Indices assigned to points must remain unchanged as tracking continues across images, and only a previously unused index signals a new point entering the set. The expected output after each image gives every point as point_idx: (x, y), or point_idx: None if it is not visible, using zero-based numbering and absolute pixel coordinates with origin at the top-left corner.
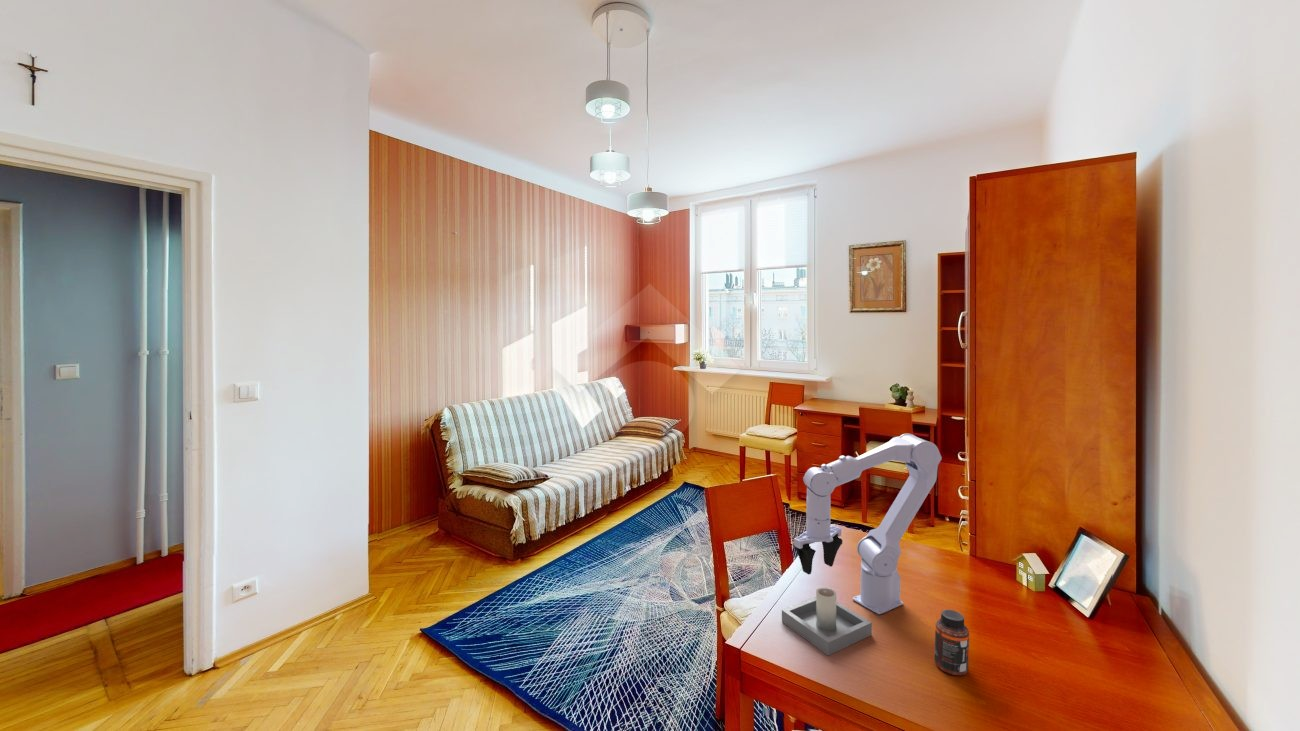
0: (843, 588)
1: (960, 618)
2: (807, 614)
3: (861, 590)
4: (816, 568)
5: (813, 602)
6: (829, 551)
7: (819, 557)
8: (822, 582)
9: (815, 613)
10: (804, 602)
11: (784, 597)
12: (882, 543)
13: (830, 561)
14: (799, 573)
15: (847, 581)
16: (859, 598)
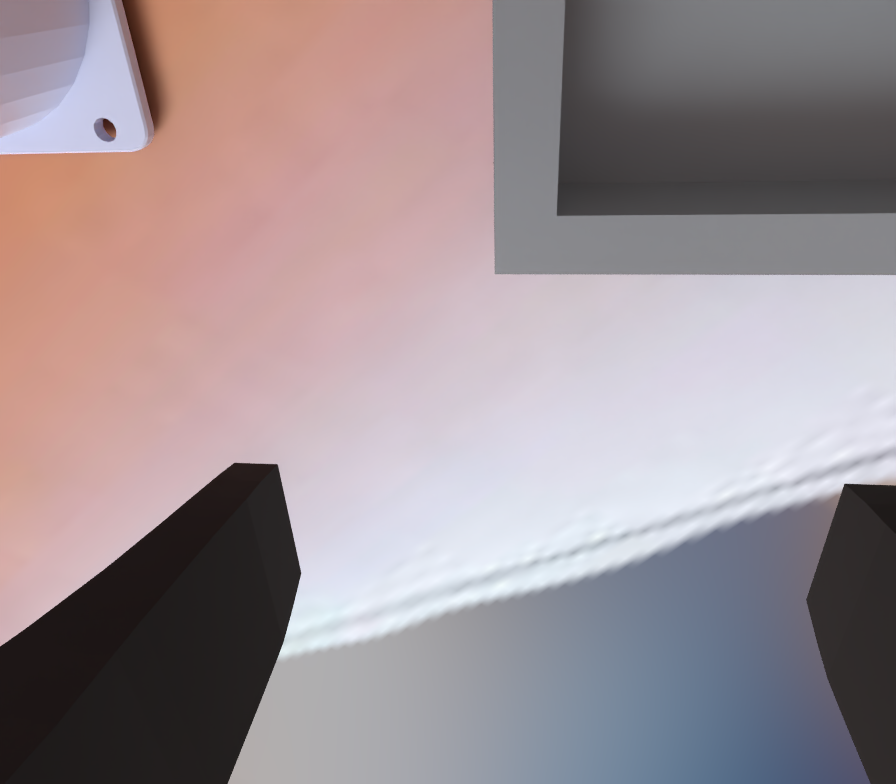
0: (117, 328)
1: None
2: (864, 148)
3: (4, 67)
4: None
5: (749, 208)
6: (142, 771)
7: None
8: None
9: (772, 115)
10: (869, 252)
11: (707, 480)
12: None
13: (242, 544)
14: (321, 620)
15: (15, 383)
16: (79, 95)
